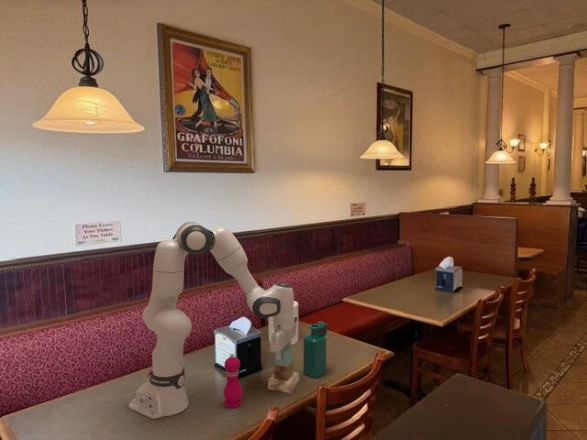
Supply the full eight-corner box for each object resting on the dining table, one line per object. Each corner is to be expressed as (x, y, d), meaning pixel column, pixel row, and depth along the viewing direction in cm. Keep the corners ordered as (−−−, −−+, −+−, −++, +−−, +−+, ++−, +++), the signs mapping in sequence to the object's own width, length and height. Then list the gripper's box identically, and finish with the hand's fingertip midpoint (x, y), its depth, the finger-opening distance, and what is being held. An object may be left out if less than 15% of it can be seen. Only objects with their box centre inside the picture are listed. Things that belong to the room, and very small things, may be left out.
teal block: (274, 364, 171) (274, 350, 170) (279, 358, 176) (279, 345, 176) (287, 366, 169) (287, 352, 168) (292, 360, 174) (292, 347, 174)
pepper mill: (238, 409, 155) (238, 358, 153) (220, 407, 157) (219, 357, 155) (244, 399, 162) (244, 350, 160) (227, 397, 164) (226, 349, 162)
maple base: (268, 388, 171) (267, 379, 170) (277, 378, 180) (277, 369, 179) (290, 393, 167) (290, 383, 167) (299, 382, 176) (299, 373, 176)
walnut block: (274, 378, 171) (274, 364, 171) (279, 372, 177) (279, 358, 176) (287, 380, 169) (287, 366, 169) (292, 374, 175) (292, 360, 174)
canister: (302, 336, 228) (302, 300, 226) (292, 347, 213) (291, 309, 211) (275, 332, 233) (275, 298, 231) (263, 343, 218) (263, 306, 216)
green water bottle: (314, 379, 179) (314, 330, 177) (301, 372, 185) (301, 324, 183) (330, 372, 185) (330, 324, 183) (317, 365, 192) (317, 319, 189)
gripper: (280, 331, 160) (280, 366, 161) (298, 315, 179) (298, 346, 180) (265, 329, 162) (266, 363, 164) (285, 313, 181) (285, 344, 183)
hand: (283, 354), depth 172 cm, fingers open, 8 cm apart
